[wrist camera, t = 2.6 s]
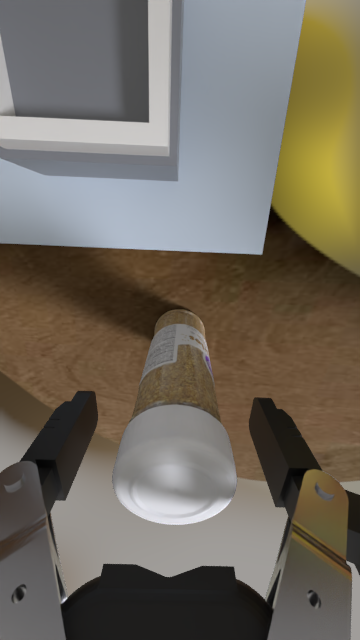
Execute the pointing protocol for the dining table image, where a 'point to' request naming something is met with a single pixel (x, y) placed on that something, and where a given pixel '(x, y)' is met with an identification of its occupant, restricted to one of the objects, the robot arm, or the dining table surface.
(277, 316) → the dining table surface
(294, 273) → the dining table surface
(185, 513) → the sprinkles bottle
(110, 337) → the dining table surface
